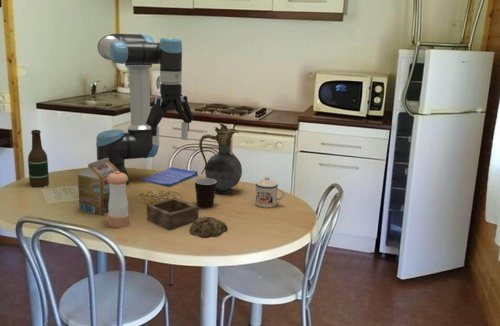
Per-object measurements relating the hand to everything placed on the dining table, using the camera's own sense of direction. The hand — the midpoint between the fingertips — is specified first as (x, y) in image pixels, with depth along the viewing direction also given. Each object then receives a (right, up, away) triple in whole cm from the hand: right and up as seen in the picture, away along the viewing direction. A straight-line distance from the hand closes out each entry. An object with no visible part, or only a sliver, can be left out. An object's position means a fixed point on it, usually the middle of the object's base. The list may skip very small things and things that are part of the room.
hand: (170, 142), depth 175 cm
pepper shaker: (-17, -29, -6) cm, 34 cm away
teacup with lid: (+37, -25, +21) cm, 49 cm away
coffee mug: (+11, -24, +18) cm, 32 cm away
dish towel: (-9, -15, +51) cm, 54 cm away
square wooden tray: (+1, -28, -1) cm, 28 cm away
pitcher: (+15, -20, +35) cm, 43 cm away
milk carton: (-28, -25, +8) cm, 38 cm away
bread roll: (+14, -31, -8) cm, 35 cm away
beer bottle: (-62, -17, +32) cm, 71 cm away
